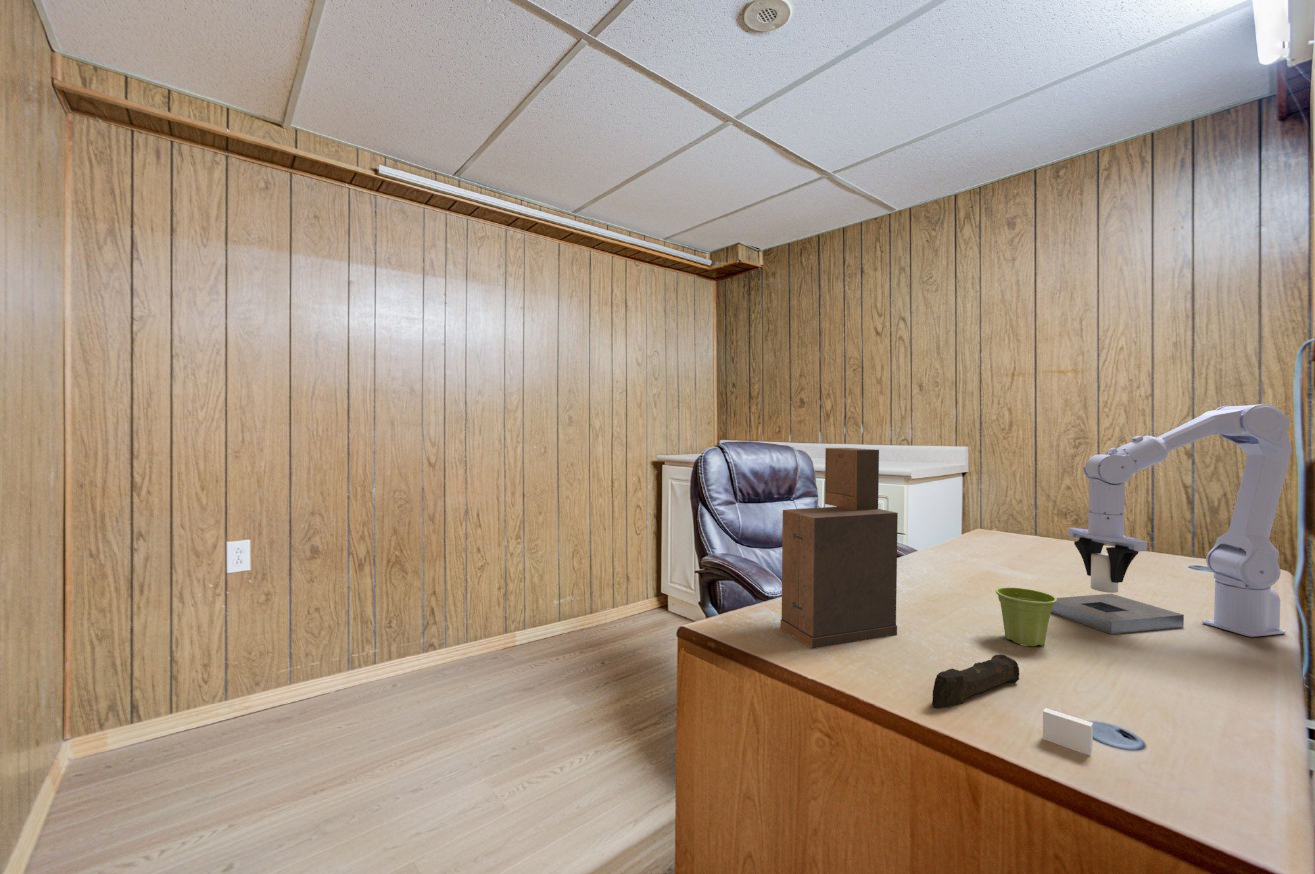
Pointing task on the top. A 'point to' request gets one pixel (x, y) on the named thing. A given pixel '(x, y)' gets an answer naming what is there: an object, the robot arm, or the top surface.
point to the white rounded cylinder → (1101, 574)
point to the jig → (1116, 614)
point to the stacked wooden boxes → (841, 558)
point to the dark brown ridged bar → (972, 680)
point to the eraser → (1068, 731)
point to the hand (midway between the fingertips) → (1104, 578)
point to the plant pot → (1025, 614)
